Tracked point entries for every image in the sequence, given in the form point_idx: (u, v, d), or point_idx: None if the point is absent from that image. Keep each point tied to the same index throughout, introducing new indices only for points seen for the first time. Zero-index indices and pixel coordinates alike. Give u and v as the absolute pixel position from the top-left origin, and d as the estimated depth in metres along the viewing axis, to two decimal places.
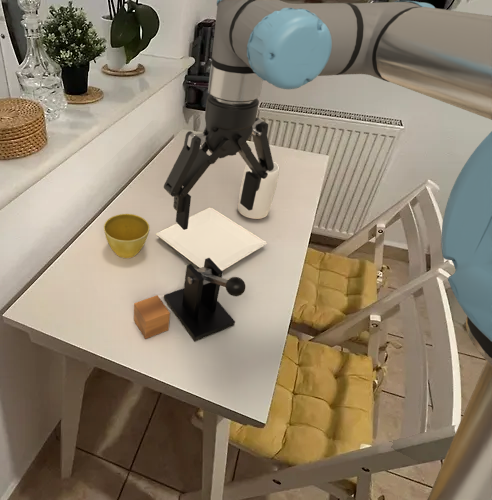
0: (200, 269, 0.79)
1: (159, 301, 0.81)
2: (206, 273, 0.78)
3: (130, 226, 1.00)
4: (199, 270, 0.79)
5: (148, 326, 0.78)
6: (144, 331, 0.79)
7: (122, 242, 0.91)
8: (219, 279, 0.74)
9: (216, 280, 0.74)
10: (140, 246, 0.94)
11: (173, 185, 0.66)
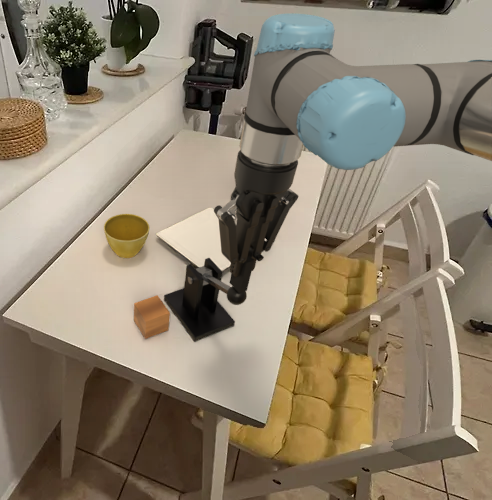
0: (200, 269, 0.79)
1: (159, 301, 0.81)
2: (206, 274, 0.78)
3: (130, 226, 1.00)
4: (200, 270, 0.78)
5: (148, 326, 0.78)
6: (144, 331, 0.79)
7: (122, 242, 0.91)
8: (220, 284, 0.74)
9: (217, 284, 0.74)
10: (140, 246, 0.94)
11: (229, 255, 0.62)
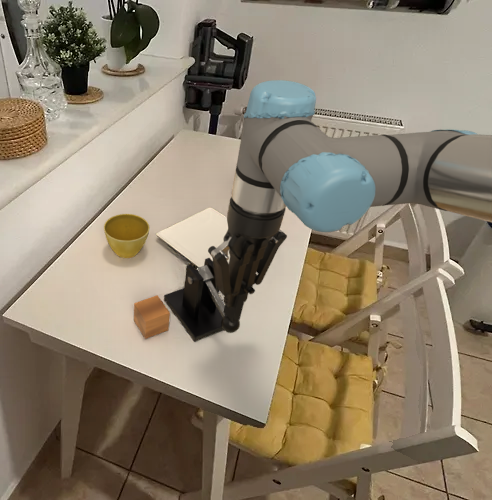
0: (203, 271, 0.78)
1: (159, 301, 0.81)
2: (207, 280, 0.78)
3: (130, 226, 1.00)
4: (202, 273, 0.78)
5: (148, 326, 0.78)
6: (144, 331, 0.79)
7: (122, 242, 0.91)
8: (218, 302, 0.76)
9: (215, 300, 0.76)
10: (140, 246, 0.94)
11: (222, 290, 0.66)
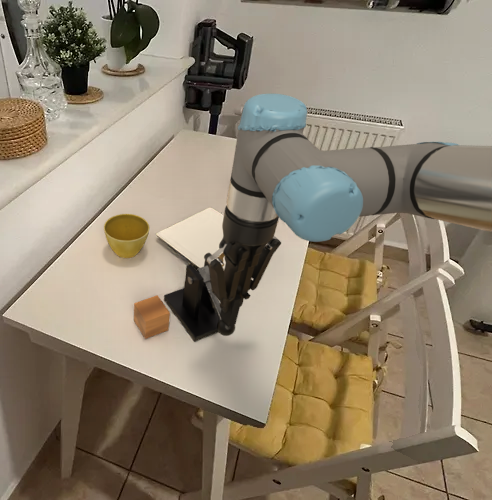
0: (204, 272, 0.78)
1: (159, 301, 0.81)
2: (207, 281, 0.78)
3: (130, 226, 1.00)
4: (203, 274, 0.78)
5: (148, 326, 0.78)
6: (144, 331, 0.79)
7: (122, 242, 0.91)
8: (216, 304, 0.77)
9: (213, 302, 0.77)
10: (140, 246, 0.94)
11: (218, 295, 0.68)
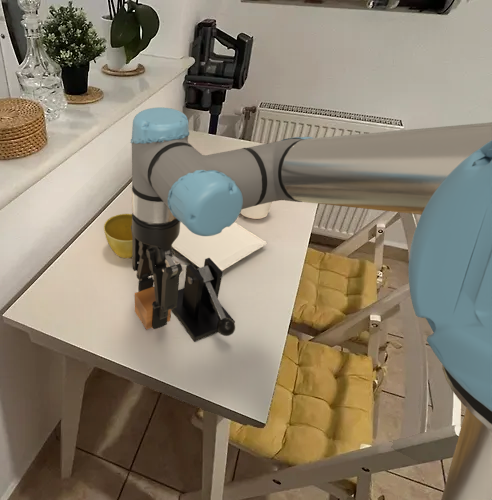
0: (204, 272, 0.78)
1: None
2: (207, 281, 0.78)
3: (130, 226, 1.00)
4: (203, 274, 0.78)
5: (149, 316, 0.76)
6: (145, 321, 0.77)
7: (122, 242, 0.91)
8: (216, 304, 0.77)
9: (213, 302, 0.77)
10: None
11: None
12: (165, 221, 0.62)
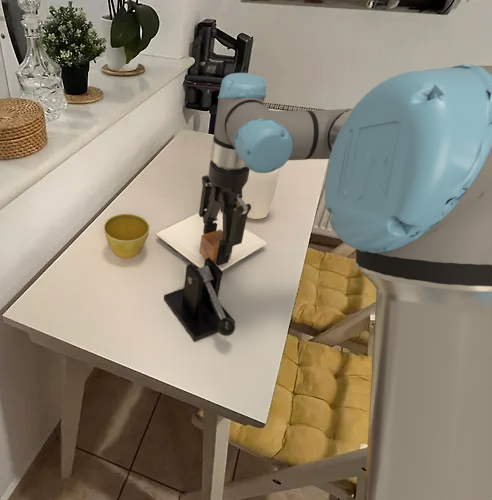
0: (204, 272, 0.78)
1: None
2: (207, 281, 0.78)
3: (130, 226, 1.00)
4: (203, 274, 0.78)
5: (215, 253, 0.91)
6: (211, 258, 0.92)
7: (122, 242, 0.91)
8: (216, 304, 0.77)
9: (213, 302, 0.77)
10: (140, 246, 0.94)
11: None
12: (240, 167, 0.77)
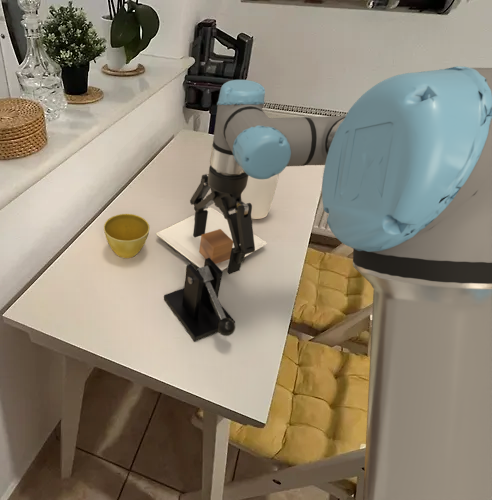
0: (204, 272, 0.78)
1: (223, 233, 0.94)
2: (207, 281, 0.78)
3: (130, 226, 1.00)
4: (203, 274, 0.78)
5: (215, 252, 0.91)
6: (211, 257, 0.92)
7: (122, 242, 0.91)
8: (216, 304, 0.77)
9: (213, 302, 0.77)
10: (140, 246, 0.94)
11: None
12: (239, 172, 0.78)
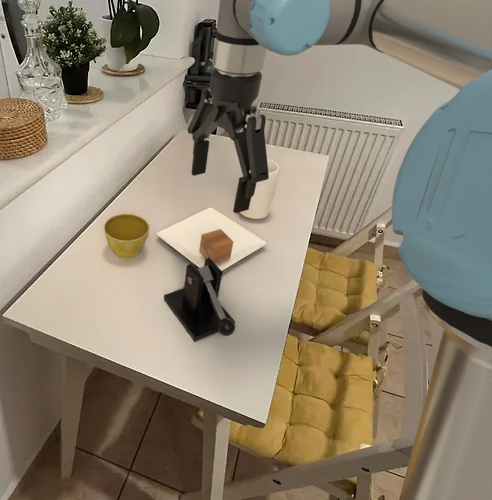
0: (204, 272, 0.78)
1: (223, 233, 0.94)
2: (207, 281, 0.78)
3: (130, 226, 1.00)
4: (203, 274, 0.78)
5: (215, 252, 0.91)
6: (211, 257, 0.92)
7: (122, 242, 0.91)
8: (216, 304, 0.77)
9: (213, 302, 0.77)
10: (140, 246, 0.94)
11: None
12: (250, 71, 0.61)
